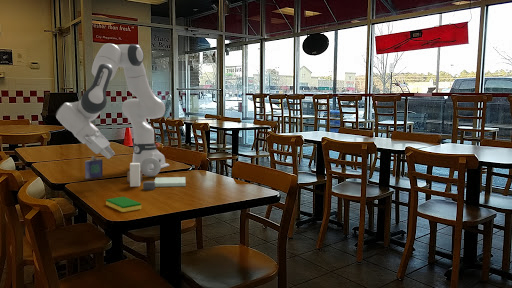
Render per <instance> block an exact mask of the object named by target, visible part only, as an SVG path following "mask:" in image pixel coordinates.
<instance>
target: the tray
mask: <svg viewBox="0 0 512 288" xmlns="http://www.w3.org/2000/svg"><path fill="white" fill-rule="evenodd" d="M154 182H155V188H157V187H186V176H182V177H181V176H180V177H179V176H177V177H176V176H174V177H173V176H172V177H171V176H169V177H167V176H166V177H163V176H162V177H155V179H154Z"/></svg>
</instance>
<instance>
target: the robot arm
mask: <svg viewBox="0 0 512 288" xmlns="http://www.w3.org/2000/svg"><path fill="white" fill-rule="evenodd" d="M144 56H145V55H144V50H143V48H142V47H141V46H140V45H139V44H134V43H131V44H122V43H121V44H118V45H116V44H115V43H110V42H109V43H104V44H103V45H102V46H101V47H100V48H99V50H98V52H97V53H96V55H95V57H94V60H93V63H92V66H91V74H92V75H93V76H94V78H93V81H92V83H91V86H90V87H89V88H88V89H87V90H85V91H84V93H82V96H81V98H80V100H78V101H74V102H64V103H63V104H61V105H60V106H59V108H58V109H57V110H56V112H55V117H56V119H57V121H58V122H59V123H60V124H61V125H62V126H63V127H65V129H66V130H68V131H69V132H71V133H72V135H73V136H74V137H75V138H77V140H78V141H79V142H80V143H82V144H83V145H86V146H87V147H88V148H89V149H90V151H92V152H93V153H94V154H96V155H98V154H100V155H102V156H104V157H105V158H106V159H107V160H109V159H110V158H111V159H112V157H114V156H115V154H116V152H114V150H113V149H112V148H111V146H110V145H111V142H110V141H109V140H108V138H106V137H105V136H104V135H103V133H102V132H100V129H99V128H98V127H96V126H95V125H94V124H93V123H92V121H94V120H95V119H97V118H98V116H99V115H100V114H101V112H102V111H103V110H104V109H105V108H106V106H107V102H108V101H107V89H108V86H109V84H110V83H109V82H110V81H112V80H113V79H114V78H115V75H116V74H117V72H118V68H123V73H124V78H125V82H126V86H127V89H128V91H129V93H130V94H132V95H134V96H135V97H136V98H129V99H126V100H124V102H123V103H122V106H121V110H122V114H123V115H124V116H125V117H126V118H127V119H128V120H129V122H130V123H131V124H130V125H131V127H132V132H133V144H132V151H133V154H132V162H131V163H140V167H141V163H142V161H143V160H144V159H146V158H148V157H154V158H156V159H157V160H159V162H160V165H161V168H160V169H163V168H167V167H169V166H170V164H169V163H166V157H165V155H164V154H163V153H162V152H160V151H159V150H158V149H157V148H159V147H160V143H157V142H156V143H155V130H154V127H152V126H151V125H150V124H149V123H148V119H150V120H151V119H153V120H155V119H159V118H162V117H163V116H164V115H165V113H166V105H165V103H164V101H162V100H161V99H160V98H158V96H156V95H155V94H154V91H153V90H152V89H151V86H150V84H149V80H148V76H147V72H146V71H147V70H146V68H145V65H144V63H143V61H144V58H145V57H144ZM147 168H148V169H149V170H153V168H154V165H153V164H149V165H148V166H147ZM140 170H141V168H140Z"/></svg>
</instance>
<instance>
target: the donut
mask: <svg viewBox="0 0 512 288" xmlns="http://www.w3.org/2000/svg"><path fill="white" fill-rule="evenodd" d="M149 164H153V165H154V168H153V169H148V168H147V166H148V165H149ZM140 168H141V171H142V175H144V176H145V177H150V178H151V177H155V176H157V175H158V174H159V173H160V171H161V169H162V168H161V165H160V162H159V160H157V159H156V158H154V157H148V158H146V159H144V160H143V161H142V163H141V167H140Z"/></svg>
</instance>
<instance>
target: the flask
mask: <svg viewBox="0 0 512 288" xmlns="http://www.w3.org/2000/svg"><path fill="white" fill-rule="evenodd" d="M103 164H104V163H103V159H102V158H99V157H96V158H95V156H94V155H92V156H91V159H89V160H85V161H84V167H85V169H84V171H85V172H84V173H85V174H84V175H85V177H84V179H85V180H93V179H98V178H99V179H100V178H103V170H104V169H103Z"/></svg>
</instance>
